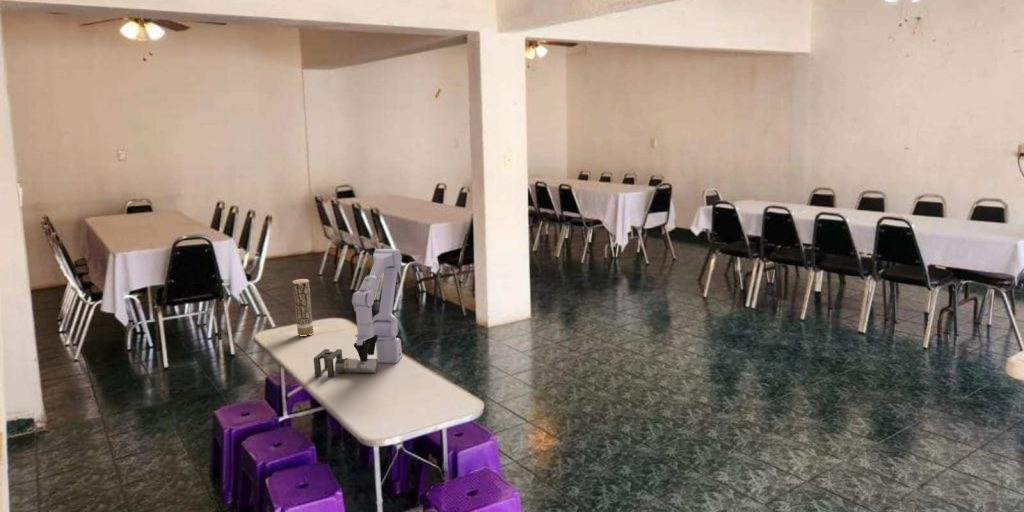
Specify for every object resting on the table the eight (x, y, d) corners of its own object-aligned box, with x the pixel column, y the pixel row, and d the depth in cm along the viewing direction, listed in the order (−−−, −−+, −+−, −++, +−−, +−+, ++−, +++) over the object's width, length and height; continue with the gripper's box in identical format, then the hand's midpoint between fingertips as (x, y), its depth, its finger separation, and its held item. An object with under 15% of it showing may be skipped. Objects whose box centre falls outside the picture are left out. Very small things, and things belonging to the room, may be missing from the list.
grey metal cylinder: (379, 369, 270) (378, 356, 269) (373, 375, 264) (372, 361, 263) (341, 369, 273) (340, 355, 272) (335, 374, 267) (333, 361, 266)
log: (309, 337, 316) (303, 282, 312) (295, 337, 318) (289, 282, 313) (316, 332, 323) (311, 279, 318) (302, 332, 324) (297, 278, 320)
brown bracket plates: (343, 367, 275) (341, 349, 273) (332, 377, 265) (330, 358, 263) (326, 367, 276) (324, 349, 274) (315, 377, 266) (313, 358, 264)
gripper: (361, 317, 272) (363, 351, 274) (347, 328, 258) (350, 364, 260) (379, 317, 271) (381, 351, 273) (366, 328, 257) (368, 364, 259)
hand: (367, 358), depth 267 cm, fingers open, 7 cm apart
